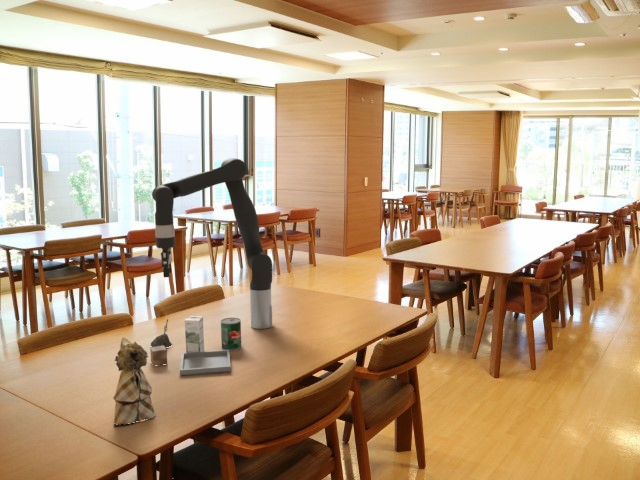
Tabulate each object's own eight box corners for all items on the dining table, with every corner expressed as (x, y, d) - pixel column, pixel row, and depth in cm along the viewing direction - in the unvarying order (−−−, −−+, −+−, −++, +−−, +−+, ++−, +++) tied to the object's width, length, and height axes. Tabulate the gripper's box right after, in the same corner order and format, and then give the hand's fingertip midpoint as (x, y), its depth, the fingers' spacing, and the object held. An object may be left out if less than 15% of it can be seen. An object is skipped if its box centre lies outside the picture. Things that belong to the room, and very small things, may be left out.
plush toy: (170, 402, 185) (147, 328, 180) (160, 424, 171) (135, 344, 166) (126, 412, 185) (102, 338, 180) (113, 435, 171) (86, 356, 167)
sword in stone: (144, 347, 239) (143, 317, 238) (160, 342, 246) (159, 314, 244) (161, 351, 233) (160, 322, 232) (176, 346, 240) (176, 317, 238)
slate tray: (229, 355, 228) (229, 349, 228) (230, 372, 211) (230, 366, 211) (182, 358, 225) (182, 352, 225) (180, 376, 208) (179, 370, 208)
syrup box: (204, 351, 233) (203, 315, 230) (200, 356, 227) (198, 320, 225) (190, 351, 233) (189, 315, 231) (185, 356, 228) (184, 319, 225)
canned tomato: (237, 351, 233) (236, 324, 231) (218, 349, 234) (217, 322, 233) (244, 344, 241) (243, 318, 239) (225, 343, 242) (224, 317, 240)
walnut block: (164, 360, 223) (163, 345, 222) (167, 365, 219) (166, 349, 218) (151, 362, 221) (150, 347, 220) (153, 367, 217) (152, 351, 216)
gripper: (173, 238, 233) (175, 278, 236) (176, 232, 247) (178, 270, 250) (153, 238, 232) (156, 279, 235) (157, 233, 246) (160, 271, 249)
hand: (167, 274), depth 242 cm, fingers open, 8 cm apart
